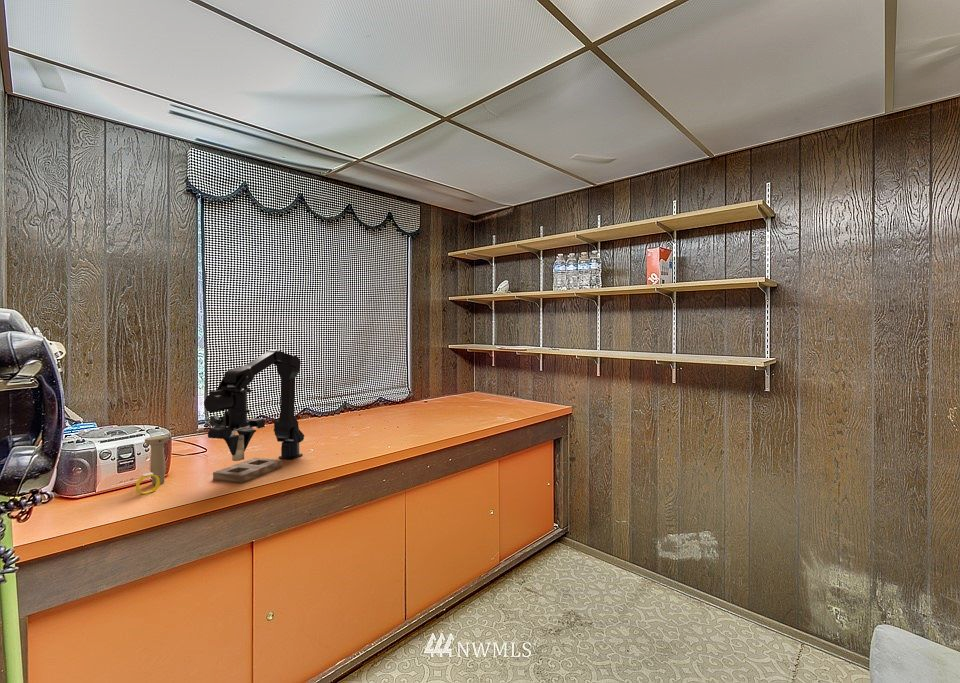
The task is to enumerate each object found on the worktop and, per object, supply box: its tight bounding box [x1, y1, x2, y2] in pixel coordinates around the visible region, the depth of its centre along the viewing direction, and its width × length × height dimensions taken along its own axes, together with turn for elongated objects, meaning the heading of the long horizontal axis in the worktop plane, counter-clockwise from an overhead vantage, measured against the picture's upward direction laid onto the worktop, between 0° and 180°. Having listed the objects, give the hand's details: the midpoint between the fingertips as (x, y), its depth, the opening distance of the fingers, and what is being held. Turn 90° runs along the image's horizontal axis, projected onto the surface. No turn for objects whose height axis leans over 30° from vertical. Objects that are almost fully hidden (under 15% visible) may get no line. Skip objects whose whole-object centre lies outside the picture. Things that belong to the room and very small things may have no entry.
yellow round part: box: [135, 472, 161, 495], centre depth 139 cm, size 6×3×6 cm, turn 151°
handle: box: [144, 434, 170, 486], centre depth 147 cm, size 5×6×15 cm
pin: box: [231, 434, 245, 462], centre depth 153 cm, size 4×4×8 cm
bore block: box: [212, 457, 283, 484], centre depth 158 cm, size 18×12×2 cm, turn 163°
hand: (238, 453), depth 153 cm, fingers closed on pin, 4 cm apart
